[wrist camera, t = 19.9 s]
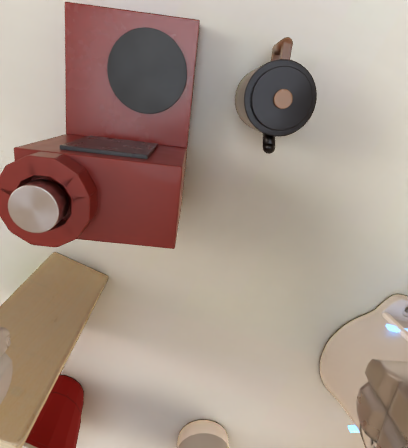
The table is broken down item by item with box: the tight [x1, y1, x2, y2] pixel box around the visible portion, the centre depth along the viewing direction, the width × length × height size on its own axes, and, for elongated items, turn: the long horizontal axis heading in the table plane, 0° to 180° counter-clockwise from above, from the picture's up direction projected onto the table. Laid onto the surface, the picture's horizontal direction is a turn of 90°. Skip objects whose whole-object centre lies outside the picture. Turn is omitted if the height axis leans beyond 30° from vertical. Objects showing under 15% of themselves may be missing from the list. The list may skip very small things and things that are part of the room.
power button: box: [8, 179, 69, 233], centre depth 22 cm, size 3×3×2 cm
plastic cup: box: [22, 375, 83, 448], centre depth 39 cm, size 11×11×12 cm
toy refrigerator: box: [0, 252, 108, 448], centre depth 30 cm, size 8×7×21 cm
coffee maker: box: [0, 134, 187, 249], centre depth 29 cm, size 12×6×14 cm, turn 83°
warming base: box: [60, 2, 200, 159], centre depth 28 cm, size 11×10×11 cm
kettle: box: [235, 37, 317, 154], centre depth 30 cm, size 6×9×8 cm, turn 174°
